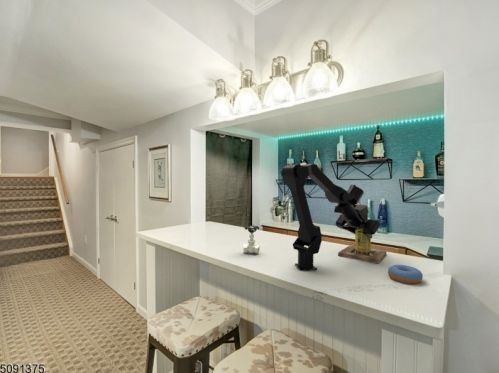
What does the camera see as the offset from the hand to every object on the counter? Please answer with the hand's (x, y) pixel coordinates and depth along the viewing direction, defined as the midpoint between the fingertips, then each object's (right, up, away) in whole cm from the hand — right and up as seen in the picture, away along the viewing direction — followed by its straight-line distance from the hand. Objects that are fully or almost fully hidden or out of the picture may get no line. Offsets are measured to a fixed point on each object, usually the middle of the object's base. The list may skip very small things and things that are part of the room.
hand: (364, 236), depth 113 cm
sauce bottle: (-1, -8, 0) cm, 8 cm away
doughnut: (+1, -9, -27) cm, 29 cm away
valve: (-50, -8, +1) cm, 51 cm away
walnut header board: (-1, -8, 0) cm, 8 cm away
